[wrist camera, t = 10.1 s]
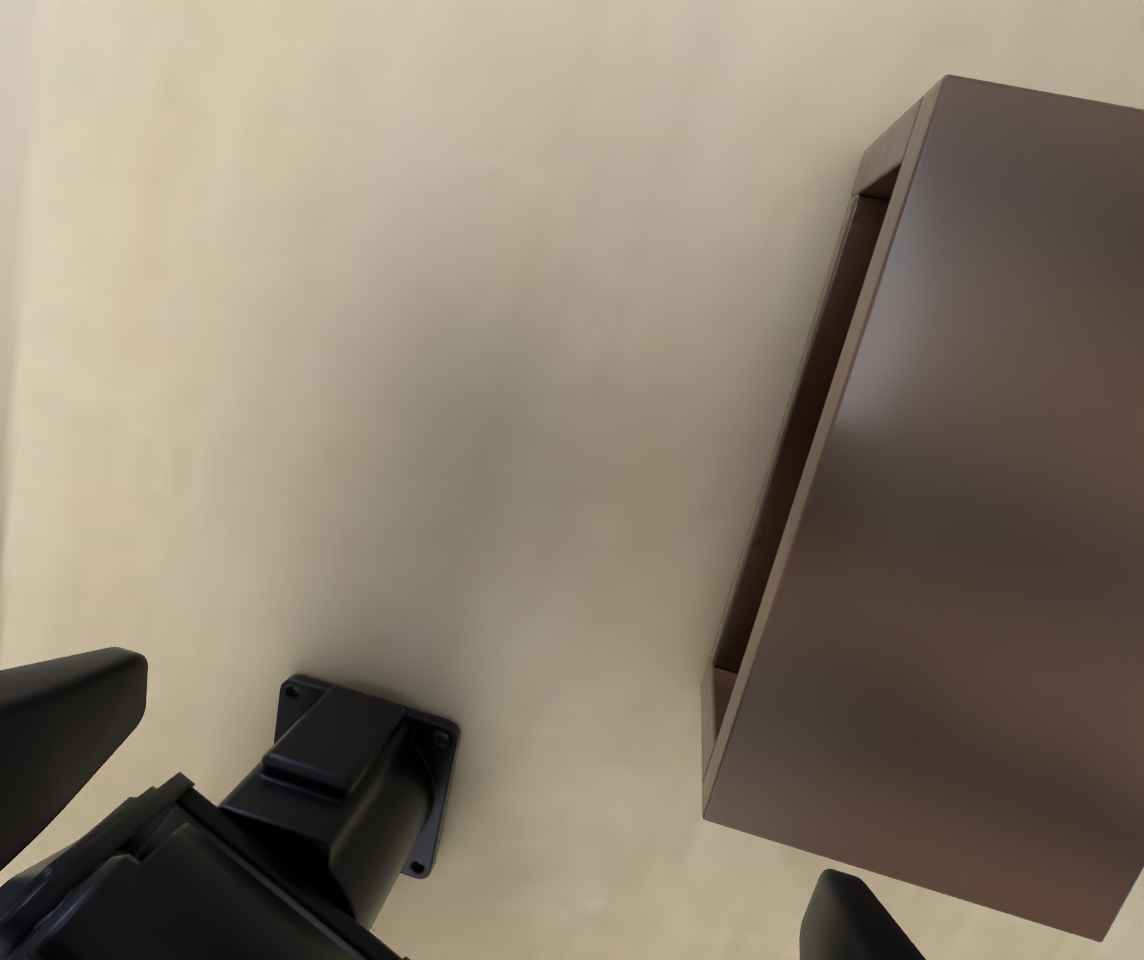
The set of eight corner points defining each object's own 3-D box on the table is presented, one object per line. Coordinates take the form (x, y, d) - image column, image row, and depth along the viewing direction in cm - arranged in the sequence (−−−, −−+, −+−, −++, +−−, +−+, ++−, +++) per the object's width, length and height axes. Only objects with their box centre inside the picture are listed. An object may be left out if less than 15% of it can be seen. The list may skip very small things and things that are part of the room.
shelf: (992, 771, 21) (1102, 944, 15) (700, 686, 22) (701, 820, 16) (1242, 222, 17) (1528, 177, 11) (865, 148, 18) (945, 72, 12)
